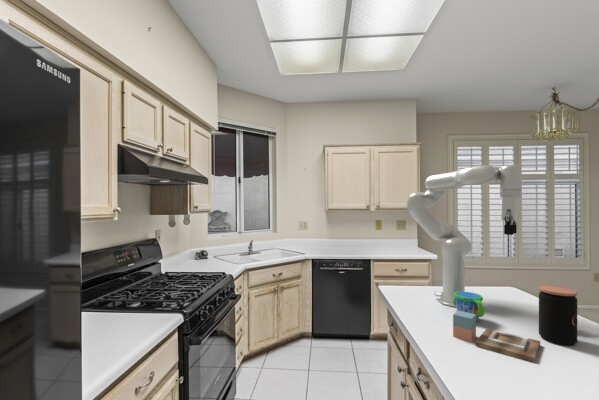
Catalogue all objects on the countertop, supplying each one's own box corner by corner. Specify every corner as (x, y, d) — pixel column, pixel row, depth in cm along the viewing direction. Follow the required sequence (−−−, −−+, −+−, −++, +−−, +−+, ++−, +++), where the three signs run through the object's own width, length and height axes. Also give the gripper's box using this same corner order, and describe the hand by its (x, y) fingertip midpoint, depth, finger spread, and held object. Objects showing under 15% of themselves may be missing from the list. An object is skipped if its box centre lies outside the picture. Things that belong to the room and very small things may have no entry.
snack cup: (446, 312, 139) (446, 289, 139) (469, 312, 139) (469, 289, 139) (466, 326, 123) (466, 300, 123) (492, 326, 124) (492, 300, 124)
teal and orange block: (453, 336, 114) (453, 314, 114) (458, 331, 118) (458, 310, 118) (471, 341, 109) (471, 318, 110) (475, 336, 114) (476, 314, 114)
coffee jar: (580, 349, 104) (580, 295, 104) (540, 341, 110) (540, 290, 110) (574, 338, 113) (574, 288, 113) (537, 331, 119) (537, 284, 119)
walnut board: (475, 346, 106) (475, 338, 106) (486, 332, 118) (486, 325, 118) (534, 362, 95) (534, 354, 95) (540, 345, 107) (540, 338, 107)
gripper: (503, 194, 144) (503, 232, 144) (496, 193, 131) (496, 234, 131) (523, 194, 139) (523, 233, 139) (518, 193, 126) (518, 235, 126)
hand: (510, 233), depth 135 cm, fingers open, 9 cm apart
